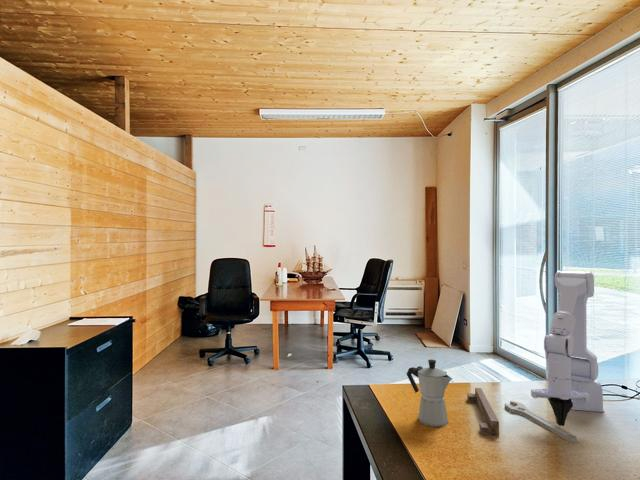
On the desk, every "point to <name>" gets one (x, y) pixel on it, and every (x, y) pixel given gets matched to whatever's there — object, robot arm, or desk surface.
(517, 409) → the adjustable wrench
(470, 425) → the desk surface
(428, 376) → the coffee maker
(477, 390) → the walnut bar
